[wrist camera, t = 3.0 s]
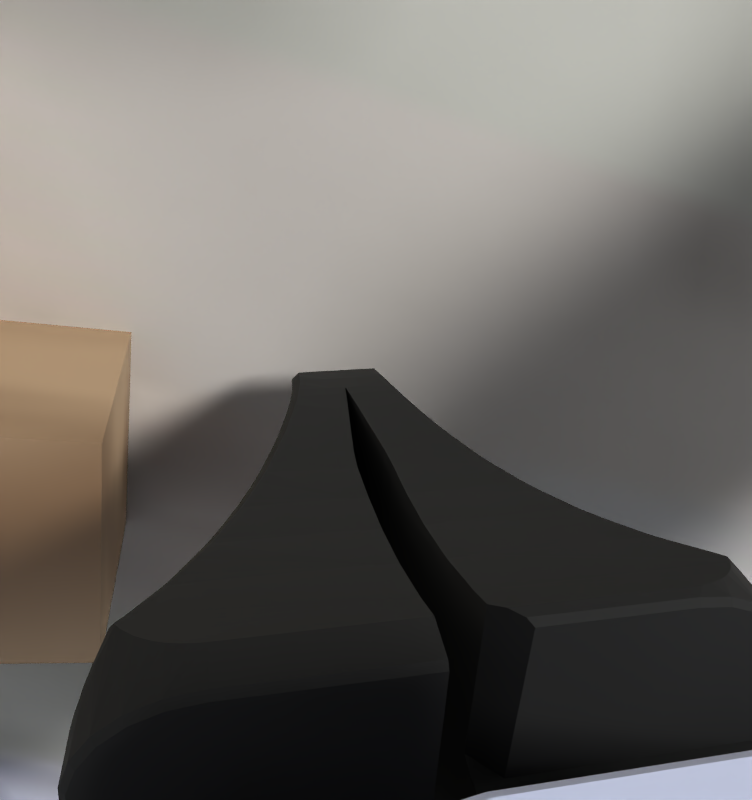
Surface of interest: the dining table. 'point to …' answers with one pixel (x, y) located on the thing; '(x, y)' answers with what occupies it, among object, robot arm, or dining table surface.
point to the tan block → (60, 487)
